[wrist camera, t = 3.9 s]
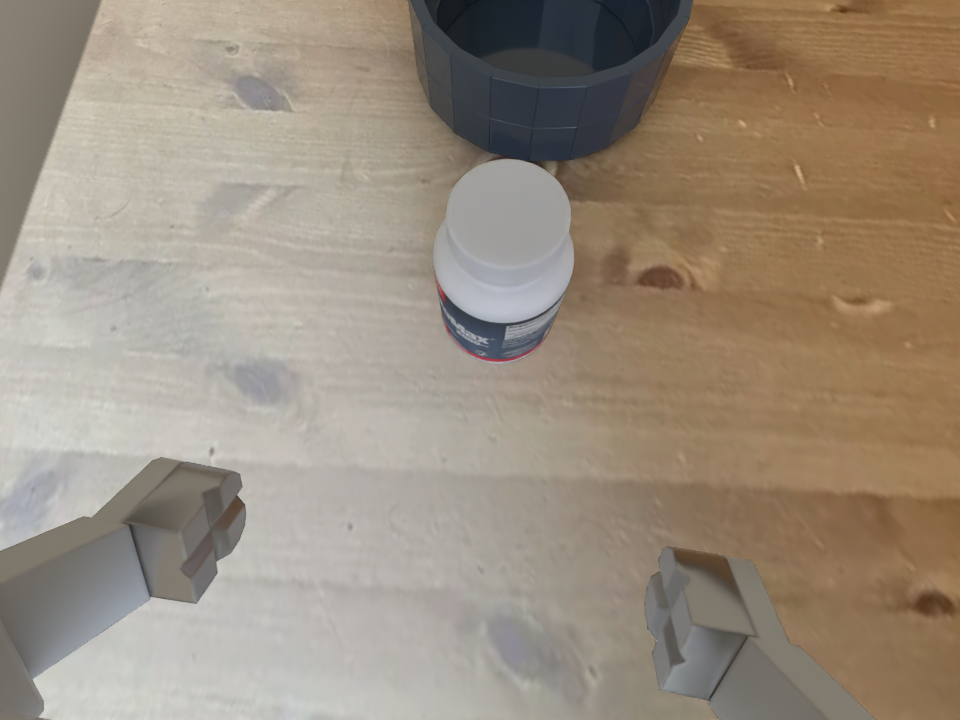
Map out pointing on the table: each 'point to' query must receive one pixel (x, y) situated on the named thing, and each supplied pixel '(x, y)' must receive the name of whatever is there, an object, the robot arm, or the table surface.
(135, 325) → the table surface
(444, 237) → the pill bottle
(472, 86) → the bowl
